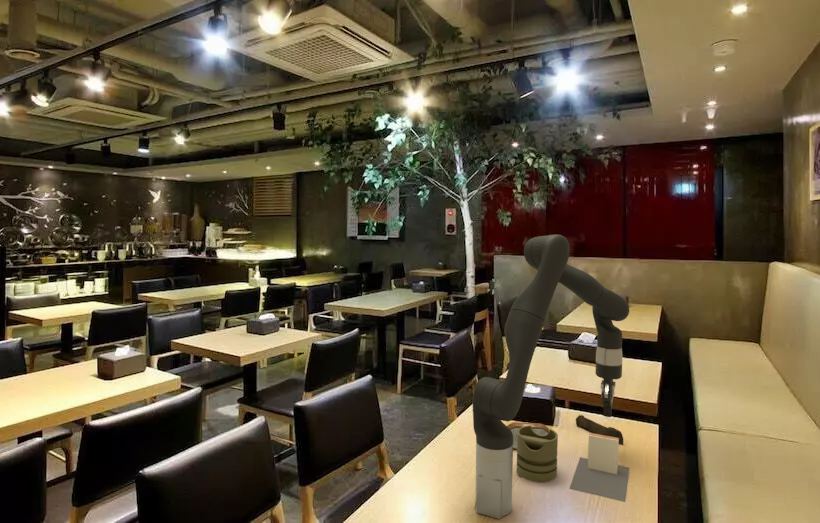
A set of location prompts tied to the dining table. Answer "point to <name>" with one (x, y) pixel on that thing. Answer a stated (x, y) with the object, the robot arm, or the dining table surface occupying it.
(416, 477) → the dining table surface
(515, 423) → the tin
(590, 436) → the tile
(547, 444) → the piston
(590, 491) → the mat
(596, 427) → the hand tool
